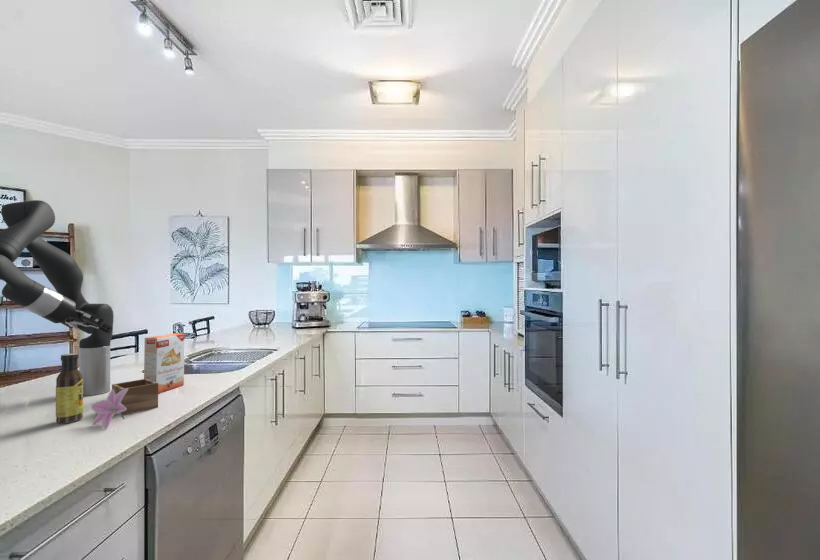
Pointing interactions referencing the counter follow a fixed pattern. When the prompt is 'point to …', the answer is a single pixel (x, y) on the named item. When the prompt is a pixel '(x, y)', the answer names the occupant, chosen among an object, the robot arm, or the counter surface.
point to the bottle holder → (138, 395)
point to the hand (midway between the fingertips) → (101, 331)
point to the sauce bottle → (69, 390)
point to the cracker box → (165, 360)
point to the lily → (109, 408)
